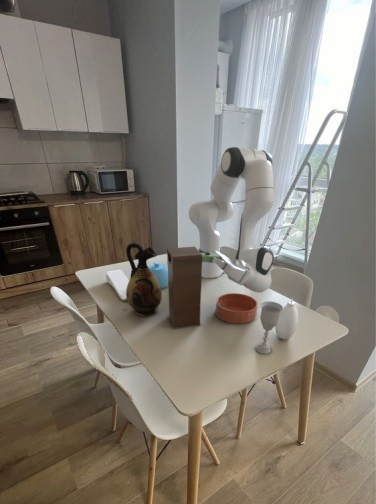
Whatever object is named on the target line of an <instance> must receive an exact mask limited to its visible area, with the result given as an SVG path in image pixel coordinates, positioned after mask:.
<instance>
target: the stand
mask: <svg viewBox="0 0 376 504" xmlns="http://www.w3.org/2000/svg"><path fill="white" fill-rule="evenodd" d="M166 259H167V260H166V261H167V264H166V265H167V269H168V287H167V290H168V292H167V294H168V317H169V320H170V322H171V324H172V327H173V329H181V328H185V327H186V328H187V327H194V326H200V325H201V303H202V301H201V299H202V278H203V277H202V254H201V253H200V252H199V249H198V248H197V247H196V246H184V247H183V246H182V247H170V248H169V247H168V248H166Z"/></svg>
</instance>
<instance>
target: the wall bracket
mask: <svg viewBox="0 0 376 504" xmlns="http://www.w3.org/2000/svg"><path fill="white" fill-rule="evenodd" d="M105 280H106V281H107V283H108V284H109V285H110V286H112V288H113V290H114V291H115V292H116V294H117V295H118V297H119V299H120V300H121V301H127V298H126V289H127V286H128V283H129V280H130V279H129V278H128V277H127V275H126V274H125V272H124V271H123V270H122V269H121V268H120V269H114V270H108V271H105Z"/></svg>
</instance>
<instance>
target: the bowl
mask: <svg viewBox="0 0 376 504" xmlns="http://www.w3.org/2000/svg"><path fill="white" fill-rule="evenodd" d="M258 307H259V303H258V301H257V300H256V298H254V297H253V296H250V295H248V294H245V293H239V292H236V293H235V292H231V293H225V294H222V295H220V296H218V297H217V298H216V302H215V315H216V316H217V317H218V318H219V319H220V320H222V321H224V322H227V323H230V324H247V323H249V322H251V321H253V320H254V319H255V320H256V317H257V312H258Z"/></svg>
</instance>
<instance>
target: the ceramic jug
mask: <svg viewBox="0 0 376 504" xmlns="http://www.w3.org/2000/svg"><path fill="white" fill-rule="evenodd" d="M135 248H136V249H137V250H138V251H137V252H136V254H134V258H133V255H132V249H135ZM125 253H126V257H127V260H128V262H129V264H130V267H131V272H130V278H129V279H128V280H129V283H128V286H127V289H126V298H127V300H126V301H127V303H128V305H129V306H130V307H131V308H132V309H133V312H134V313H136V315H138V316H141V317H149V316H151V315H154V314H155V313H156V312H157V311H156V309H157V308H158V307H159V306H160V304H161V302H162V299H163V292H162V289H161V288H160V285H159V282H158V280H157V279H156V277H155V276H154V274H153V273H152V271H151V270H150V269H149V265H148V263H147V261H148V260H151V259H152V258H155V257H157V253H156V252H155V250H154V249H153V248H152V247H150V246H148V247H146V248H145V249H144V248H143V245H142V244H140V243H139V242H136V241H133V242H130V243H129V244H127V246H126V250H125ZM134 259H135V260H137V261H138V263H137V265H136V264H135V261H134Z"/></svg>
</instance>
